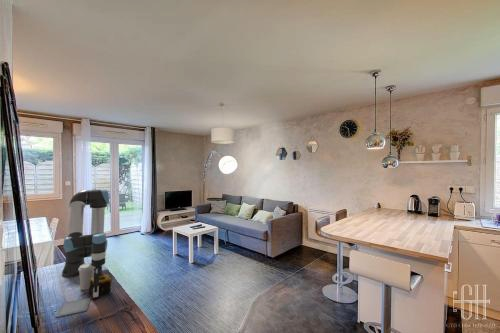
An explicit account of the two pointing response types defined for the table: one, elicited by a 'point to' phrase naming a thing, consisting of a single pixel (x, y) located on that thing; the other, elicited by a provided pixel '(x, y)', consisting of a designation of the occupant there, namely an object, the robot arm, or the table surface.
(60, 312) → the coaster
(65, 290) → the table surface
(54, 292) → the table surface
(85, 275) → the coffee cup
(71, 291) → the table surface
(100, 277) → the candle
